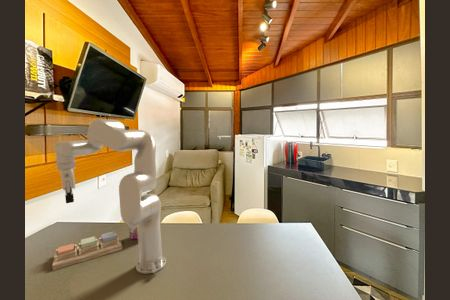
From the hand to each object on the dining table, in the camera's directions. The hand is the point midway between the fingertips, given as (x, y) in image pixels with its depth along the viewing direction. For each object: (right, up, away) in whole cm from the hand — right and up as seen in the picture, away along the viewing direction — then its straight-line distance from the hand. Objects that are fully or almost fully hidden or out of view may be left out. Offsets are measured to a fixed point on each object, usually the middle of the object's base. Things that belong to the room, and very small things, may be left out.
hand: (70, 202), depth 111 cm
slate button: (+18, -21, +4) cm, 27 cm away
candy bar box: (+31, -23, +13) cm, 41 cm away
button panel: (+10, -25, -1) cm, 27 cm away
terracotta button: (+3, -23, -6) cm, 24 cm away
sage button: (+10, -21, -1) cm, 24 cm away
